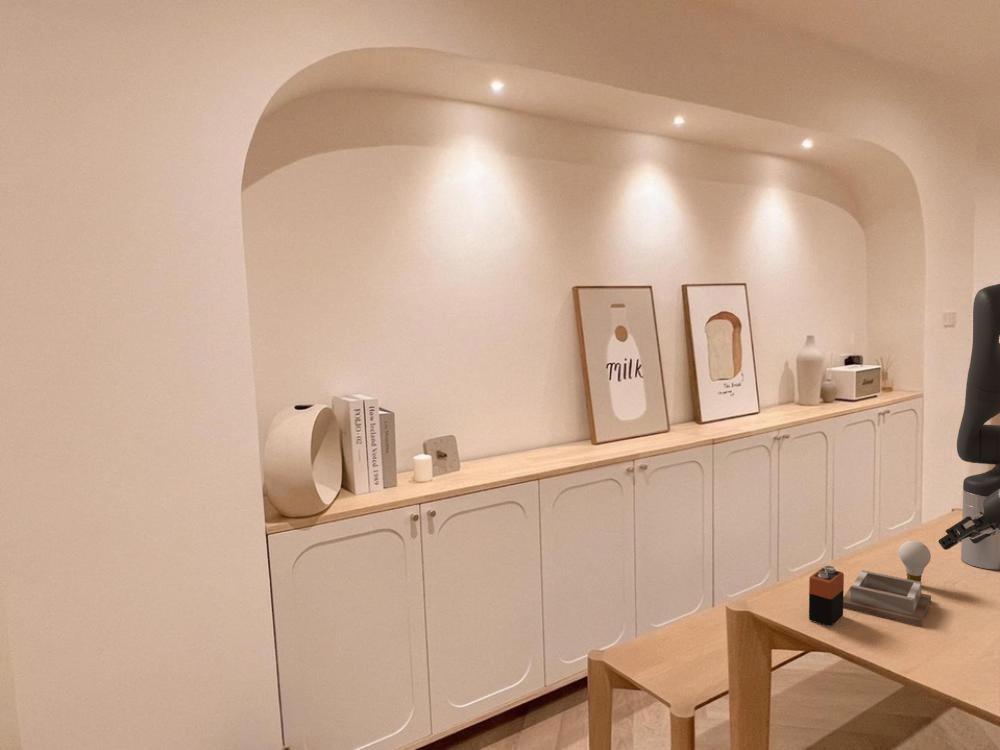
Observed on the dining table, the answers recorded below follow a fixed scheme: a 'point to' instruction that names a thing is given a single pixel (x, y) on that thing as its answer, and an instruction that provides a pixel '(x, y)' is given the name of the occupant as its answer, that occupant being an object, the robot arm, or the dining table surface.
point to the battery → (826, 595)
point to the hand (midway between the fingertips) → (957, 542)
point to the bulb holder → (888, 597)
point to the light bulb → (914, 558)
